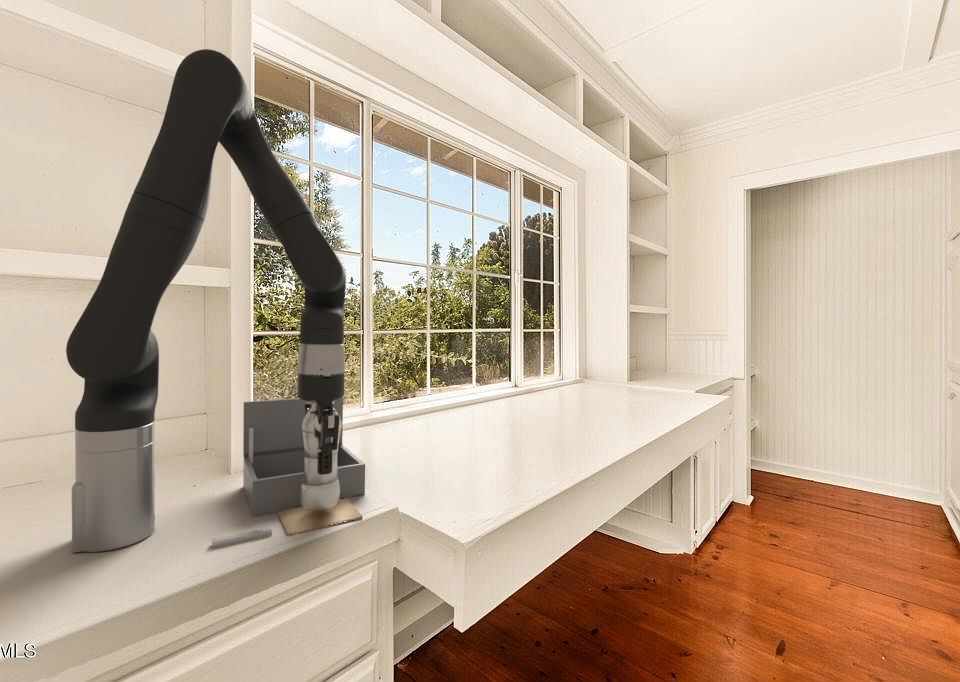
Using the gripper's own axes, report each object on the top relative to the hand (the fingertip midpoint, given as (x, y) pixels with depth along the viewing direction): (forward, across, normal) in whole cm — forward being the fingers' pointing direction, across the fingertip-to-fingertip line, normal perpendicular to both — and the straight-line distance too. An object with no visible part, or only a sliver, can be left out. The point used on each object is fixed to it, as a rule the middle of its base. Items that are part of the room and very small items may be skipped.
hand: (320, 467), depth 76 cm
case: (+9, -14, 0) cm, 16 cm away
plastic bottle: (+7, 0, 0) cm, 7 cm away
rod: (+9, +2, -12) cm, 15 cm away
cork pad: (+9, 0, 0) cm, 9 cm away
